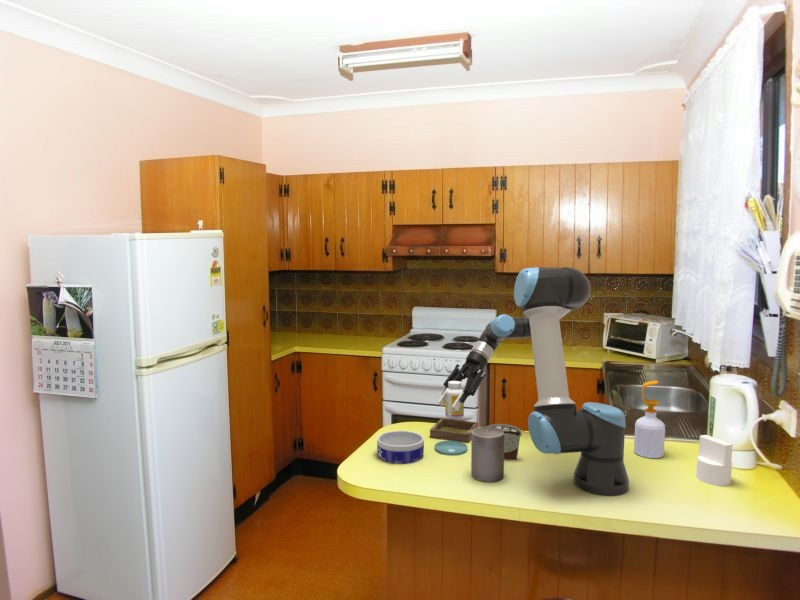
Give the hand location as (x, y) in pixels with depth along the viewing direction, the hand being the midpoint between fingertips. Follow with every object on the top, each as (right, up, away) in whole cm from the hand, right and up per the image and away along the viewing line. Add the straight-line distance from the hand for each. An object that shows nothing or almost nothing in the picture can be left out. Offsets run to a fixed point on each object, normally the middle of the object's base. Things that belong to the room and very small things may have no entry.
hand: (447, 406), depth 206 cm
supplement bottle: (+3, -4, +3) cm, 6 cm away
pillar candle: (+9, -15, -34) cm, 38 cm away
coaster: (0, -12, -12) cm, 17 cm away
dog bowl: (-17, -13, -17) cm, 27 cm away
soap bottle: (+65, -13, -16) cm, 68 cm away
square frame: (+3, -10, +3) cm, 11 cm away
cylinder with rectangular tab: (+76, -15, -35) cm, 85 cm away
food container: (+16, -13, -18) cm, 28 cm away
